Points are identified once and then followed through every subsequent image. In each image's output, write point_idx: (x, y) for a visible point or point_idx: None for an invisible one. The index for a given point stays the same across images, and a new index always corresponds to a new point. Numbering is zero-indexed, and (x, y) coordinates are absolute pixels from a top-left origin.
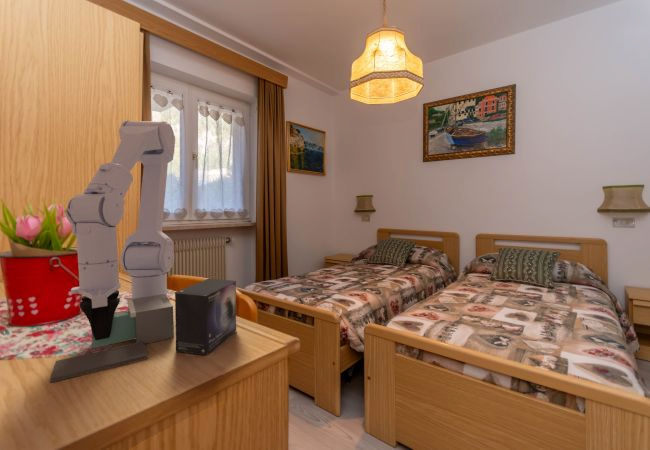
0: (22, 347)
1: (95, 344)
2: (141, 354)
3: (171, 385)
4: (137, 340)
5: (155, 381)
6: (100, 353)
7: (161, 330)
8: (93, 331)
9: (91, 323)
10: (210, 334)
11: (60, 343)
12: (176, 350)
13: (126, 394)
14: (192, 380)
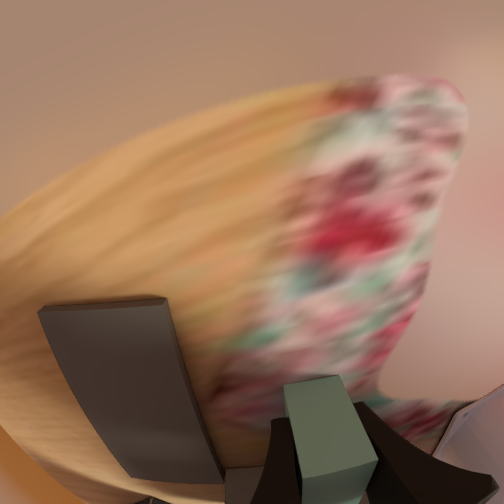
0: (436, 121)
1: (285, 399)
2: (136, 473)
3: (39, 456)
4: (225, 481)
5: (47, 450)
6: (175, 421)
7: None
8: (269, 450)
9: (258, 486)
10: None
11: (410, 257)
12: (147, 500)
13: (14, 415)
14: (52, 472)
